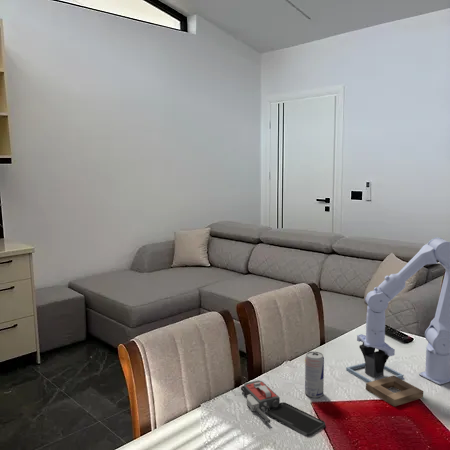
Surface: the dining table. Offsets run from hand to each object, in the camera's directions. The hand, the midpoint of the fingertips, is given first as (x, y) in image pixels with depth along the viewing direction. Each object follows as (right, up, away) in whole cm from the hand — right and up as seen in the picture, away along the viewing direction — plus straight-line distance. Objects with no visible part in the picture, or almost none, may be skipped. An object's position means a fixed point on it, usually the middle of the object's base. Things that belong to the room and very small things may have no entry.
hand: (374, 369), depth 146 cm
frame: (0, -2, 0) cm, 2 cm away
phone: (-30, -6, -26) cm, 40 cm away
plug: (0, -2, 0) cm, 2 cm away
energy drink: (-22, -4, -12) cm, 25 cm away
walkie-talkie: (-37, -5, -18) cm, 42 cm away
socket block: (+2, -3, -12) cm, 13 cm away
